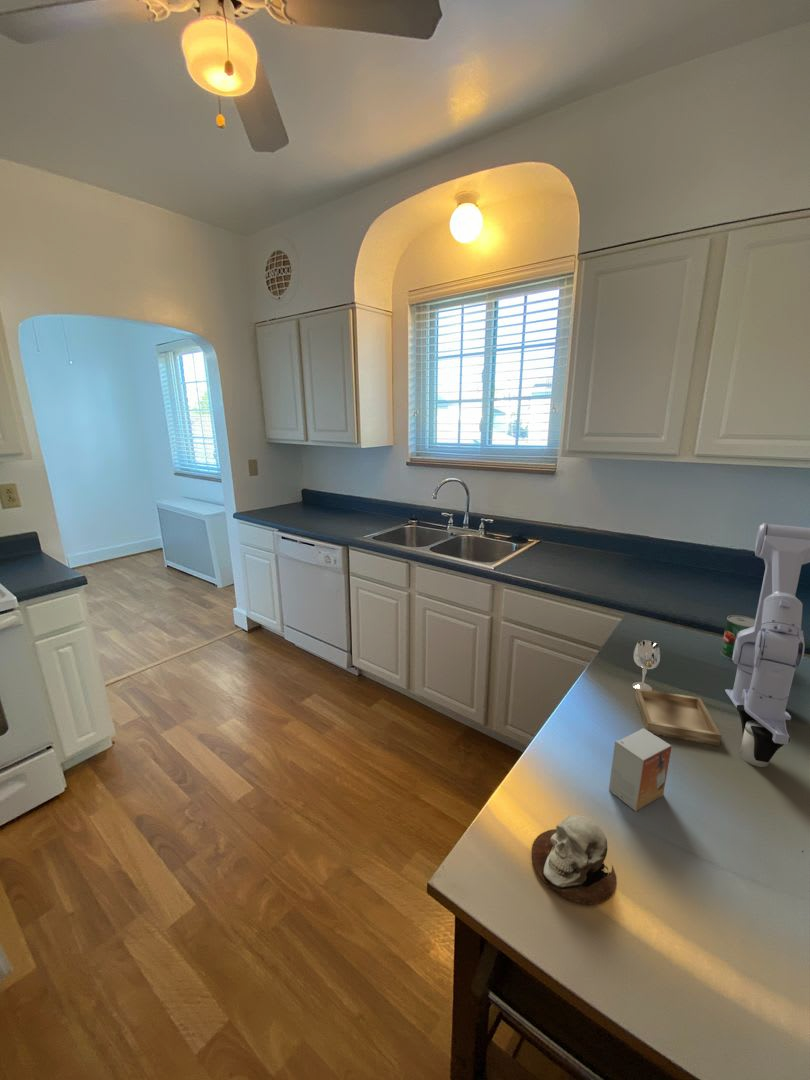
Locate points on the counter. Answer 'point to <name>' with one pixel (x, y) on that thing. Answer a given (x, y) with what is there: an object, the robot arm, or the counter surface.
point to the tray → (677, 716)
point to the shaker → (750, 745)
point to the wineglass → (646, 659)
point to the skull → (575, 860)
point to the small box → (639, 768)
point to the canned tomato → (734, 632)
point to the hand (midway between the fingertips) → (755, 751)
